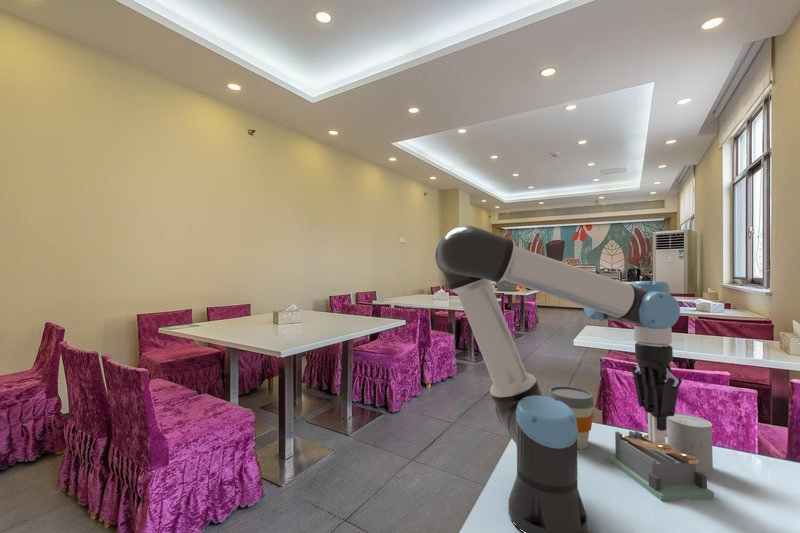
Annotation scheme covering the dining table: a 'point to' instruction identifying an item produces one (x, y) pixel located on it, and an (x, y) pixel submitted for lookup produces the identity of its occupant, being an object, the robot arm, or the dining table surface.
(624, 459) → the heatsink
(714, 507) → the dining table surface
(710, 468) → the gray concrete cylinder
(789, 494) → the dining table surface
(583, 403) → the reusable coffee cup
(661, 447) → the strap
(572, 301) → the robot arm
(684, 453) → the strap
